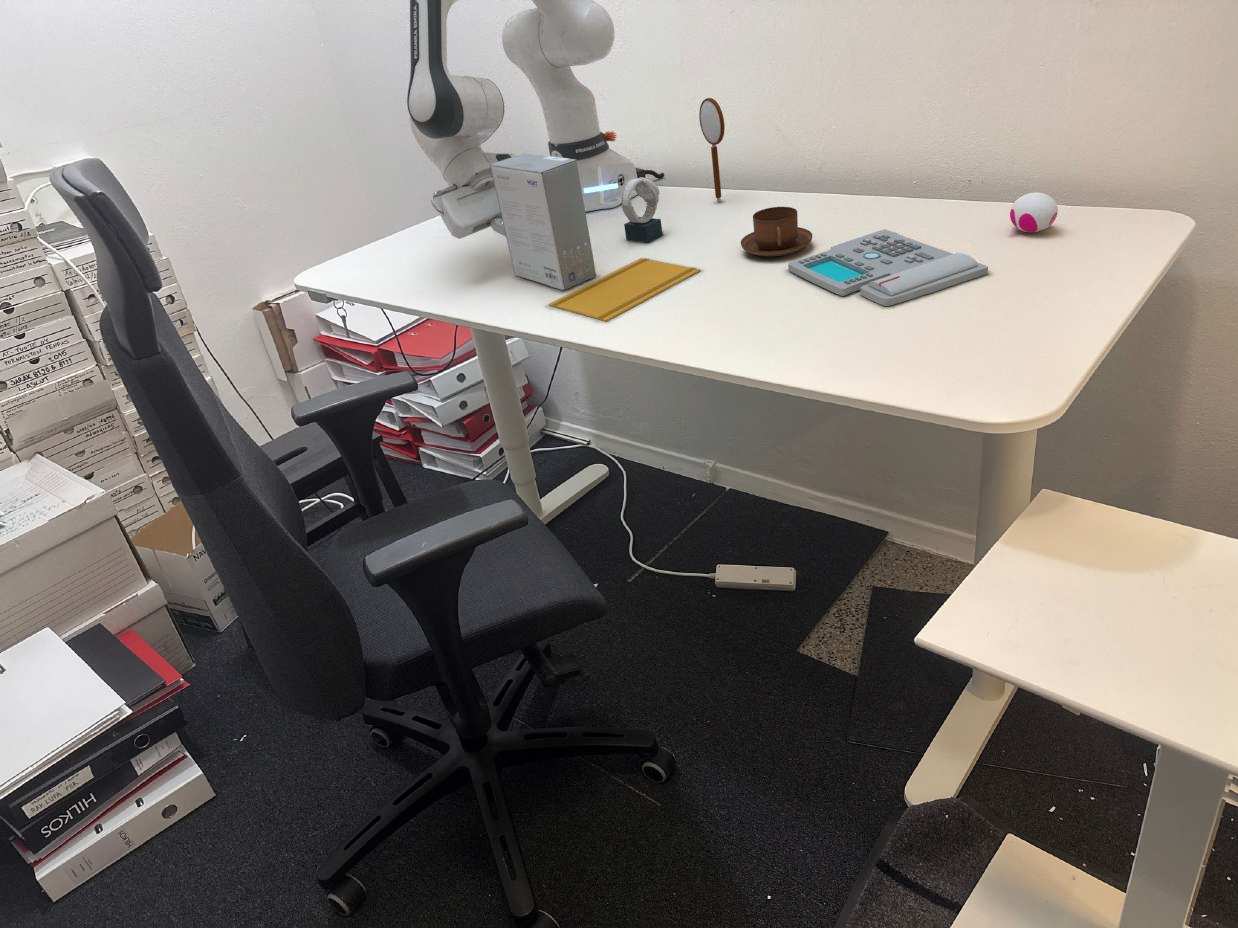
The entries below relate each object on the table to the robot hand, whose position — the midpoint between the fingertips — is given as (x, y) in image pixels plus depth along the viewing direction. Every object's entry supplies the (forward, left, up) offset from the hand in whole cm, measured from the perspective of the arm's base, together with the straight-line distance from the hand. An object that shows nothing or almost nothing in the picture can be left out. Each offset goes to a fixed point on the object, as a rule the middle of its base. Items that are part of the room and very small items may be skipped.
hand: (517, 237), depth 148 cm
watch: (-22, +9, -7) cm, 25 cm away
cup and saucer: (-26, +37, -7) cm, 46 cm away
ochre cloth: (-2, +24, -6) cm, 25 cm away
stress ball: (-47, +70, -7) cm, 85 cm away
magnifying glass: (-44, +9, -7) cm, 46 cm away
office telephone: (-24, +58, -7) cm, 64 cm away
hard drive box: (-1, +8, -6) cm, 10 cm away
